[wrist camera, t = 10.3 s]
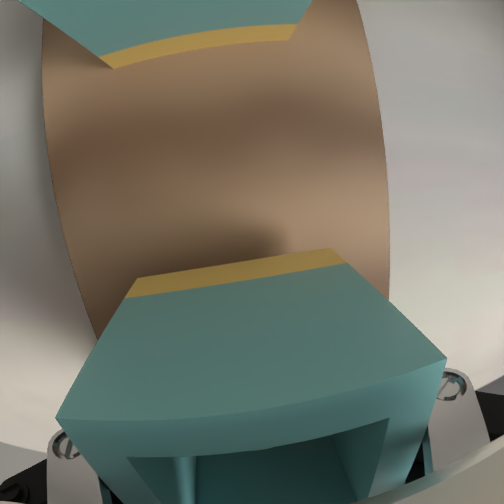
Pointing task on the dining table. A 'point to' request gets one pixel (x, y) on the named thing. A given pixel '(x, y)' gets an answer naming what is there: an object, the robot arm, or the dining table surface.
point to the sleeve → (254, 387)
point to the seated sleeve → (168, 24)
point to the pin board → (217, 156)
